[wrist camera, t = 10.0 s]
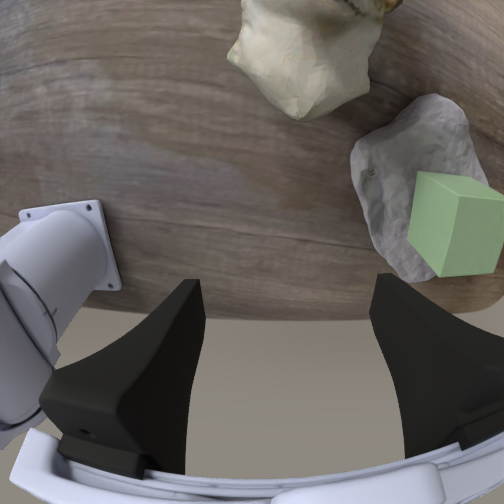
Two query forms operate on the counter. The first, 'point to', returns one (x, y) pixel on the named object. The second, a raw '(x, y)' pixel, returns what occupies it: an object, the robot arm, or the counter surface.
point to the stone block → (409, 173)
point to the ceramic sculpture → (308, 51)
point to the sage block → (456, 224)
